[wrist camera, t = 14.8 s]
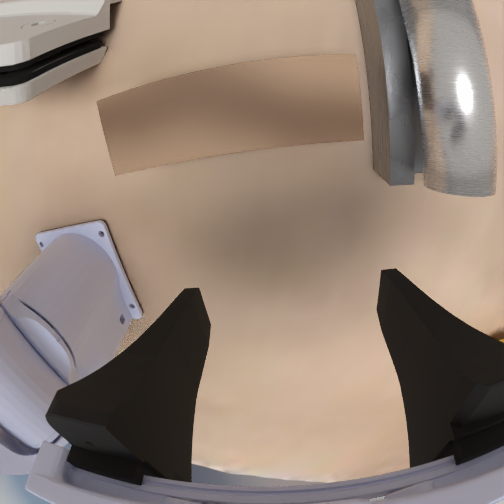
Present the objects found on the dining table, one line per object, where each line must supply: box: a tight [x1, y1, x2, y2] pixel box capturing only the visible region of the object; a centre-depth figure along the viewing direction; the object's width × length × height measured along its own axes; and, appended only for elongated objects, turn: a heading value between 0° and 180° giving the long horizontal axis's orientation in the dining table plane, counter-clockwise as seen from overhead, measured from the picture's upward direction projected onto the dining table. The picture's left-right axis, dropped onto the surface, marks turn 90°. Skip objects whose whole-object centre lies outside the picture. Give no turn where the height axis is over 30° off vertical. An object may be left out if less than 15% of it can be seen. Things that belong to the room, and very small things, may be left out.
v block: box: [356, 0, 423, 186], centre depth 13 cm, size 12×6×3 cm, turn 9°
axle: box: [399, 0, 497, 197], centre depth 10 cm, size 10×4×4 cm, turn 9°
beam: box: [97, 54, 364, 176], centre depth 15 cm, size 4×12×5 cm, turn 99°
